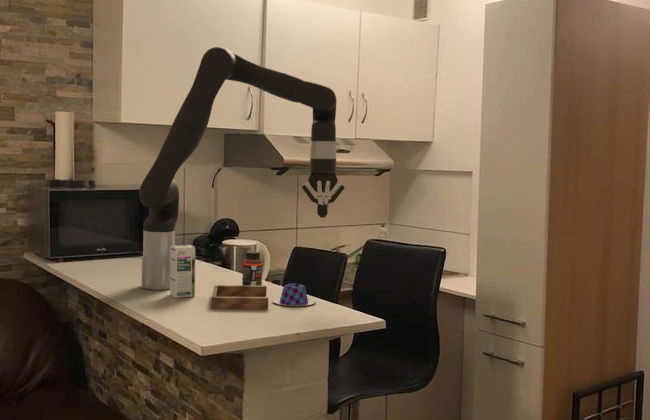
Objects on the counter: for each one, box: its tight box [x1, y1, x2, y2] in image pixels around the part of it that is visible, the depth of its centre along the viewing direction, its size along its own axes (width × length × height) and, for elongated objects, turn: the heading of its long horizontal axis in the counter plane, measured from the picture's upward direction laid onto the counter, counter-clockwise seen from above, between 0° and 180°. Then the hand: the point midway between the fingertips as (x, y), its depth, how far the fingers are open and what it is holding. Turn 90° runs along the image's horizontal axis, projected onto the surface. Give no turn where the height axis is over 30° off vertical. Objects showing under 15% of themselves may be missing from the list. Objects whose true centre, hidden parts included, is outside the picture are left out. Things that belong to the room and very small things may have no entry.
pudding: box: [272, 283, 316, 307], centre depth 204 cm, size 12×12×5 cm
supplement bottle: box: [241, 250, 263, 286], centre depth 222 cm, size 6×6×11 cm
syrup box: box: [169, 244, 196, 299], centre depth 208 cm, size 6×6×14 cm
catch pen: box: [211, 284, 269, 310], centre depth 202 cm, size 15×17×3 cm
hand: (322, 217), depth 211 cm, fingers closed
